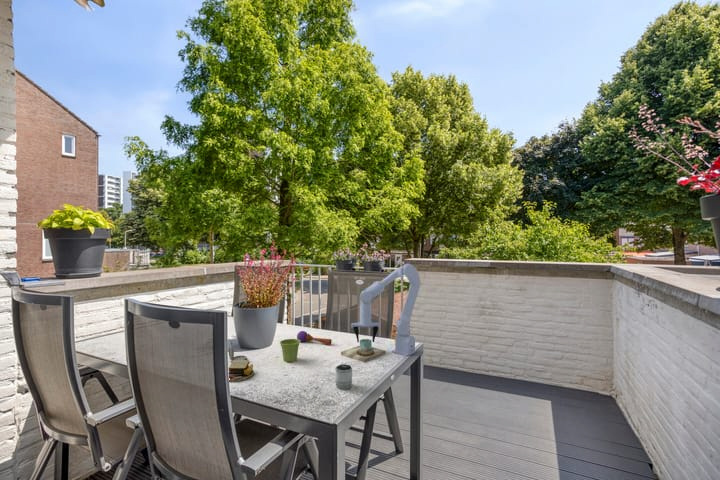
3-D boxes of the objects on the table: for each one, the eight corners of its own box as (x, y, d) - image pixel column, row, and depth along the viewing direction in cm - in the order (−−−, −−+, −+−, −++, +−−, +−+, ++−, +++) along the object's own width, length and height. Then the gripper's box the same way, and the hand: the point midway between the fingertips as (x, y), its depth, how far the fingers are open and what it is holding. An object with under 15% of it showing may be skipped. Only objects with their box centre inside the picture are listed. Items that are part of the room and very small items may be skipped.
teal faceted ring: (373, 348, 173) (373, 340, 173) (366, 351, 169) (366, 342, 169) (365, 346, 177) (365, 338, 177) (357, 348, 173) (357, 340, 173)
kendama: (327, 339, 181) (294, 332, 188) (327, 350, 182) (295, 342, 189) (332, 334, 186) (300, 328, 193) (332, 344, 187) (300, 338, 195)
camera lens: (339, 382, 136) (339, 362, 136) (354, 384, 133) (354, 364, 133) (332, 388, 130) (332, 367, 130) (347, 391, 127) (347, 370, 127)
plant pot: (275, 360, 160) (275, 341, 160) (292, 355, 167) (292, 337, 167) (287, 365, 154) (287, 345, 154) (304, 359, 161) (304, 341, 161)
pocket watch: (249, 358, 162) (249, 337, 162) (236, 364, 154) (236, 342, 154) (236, 356, 165) (236, 335, 165) (222, 362, 158) (222, 340, 158)
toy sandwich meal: (215, 382, 136) (216, 370, 136) (230, 369, 149) (230, 358, 149) (246, 383, 135) (247, 371, 135) (259, 370, 149) (259, 359, 149)
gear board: (385, 353, 170) (385, 342, 170) (364, 362, 158) (364, 350, 158) (362, 347, 180) (362, 336, 180) (340, 354, 168) (341, 343, 168)
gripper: (379, 312, 178) (379, 339, 178) (351, 313, 177) (351, 339, 177) (380, 315, 171) (380, 343, 171) (351, 316, 170) (351, 343, 170)
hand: (365, 341), depth 173 cm, fingers open, 7 cm apart
